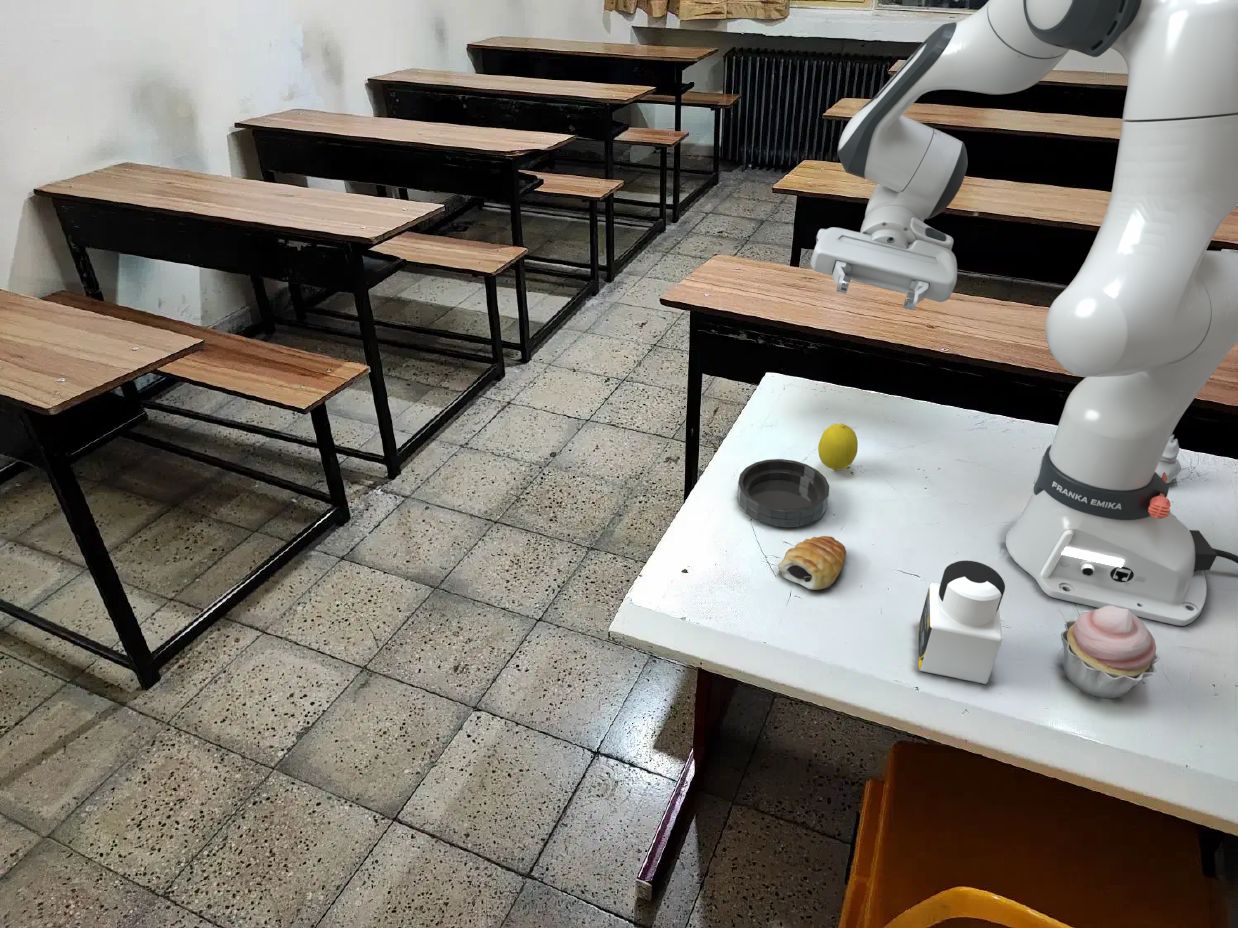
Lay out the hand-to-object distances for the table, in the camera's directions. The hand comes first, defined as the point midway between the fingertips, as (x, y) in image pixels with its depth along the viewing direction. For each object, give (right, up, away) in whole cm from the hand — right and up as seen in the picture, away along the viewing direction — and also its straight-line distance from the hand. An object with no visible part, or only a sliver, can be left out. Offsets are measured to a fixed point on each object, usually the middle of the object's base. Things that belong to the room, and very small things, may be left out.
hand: (875, 297), depth 113 cm
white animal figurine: (+42, -25, +6) cm, 49 cm away
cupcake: (+16, -46, -24) cm, 55 cm away
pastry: (-11, -37, -10) cm, 40 cm away
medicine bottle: (+2, -45, -22) cm, 50 cm away
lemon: (-4, -24, +9) cm, 26 cm away
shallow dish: (-13, -29, +2) cm, 31 cm away
